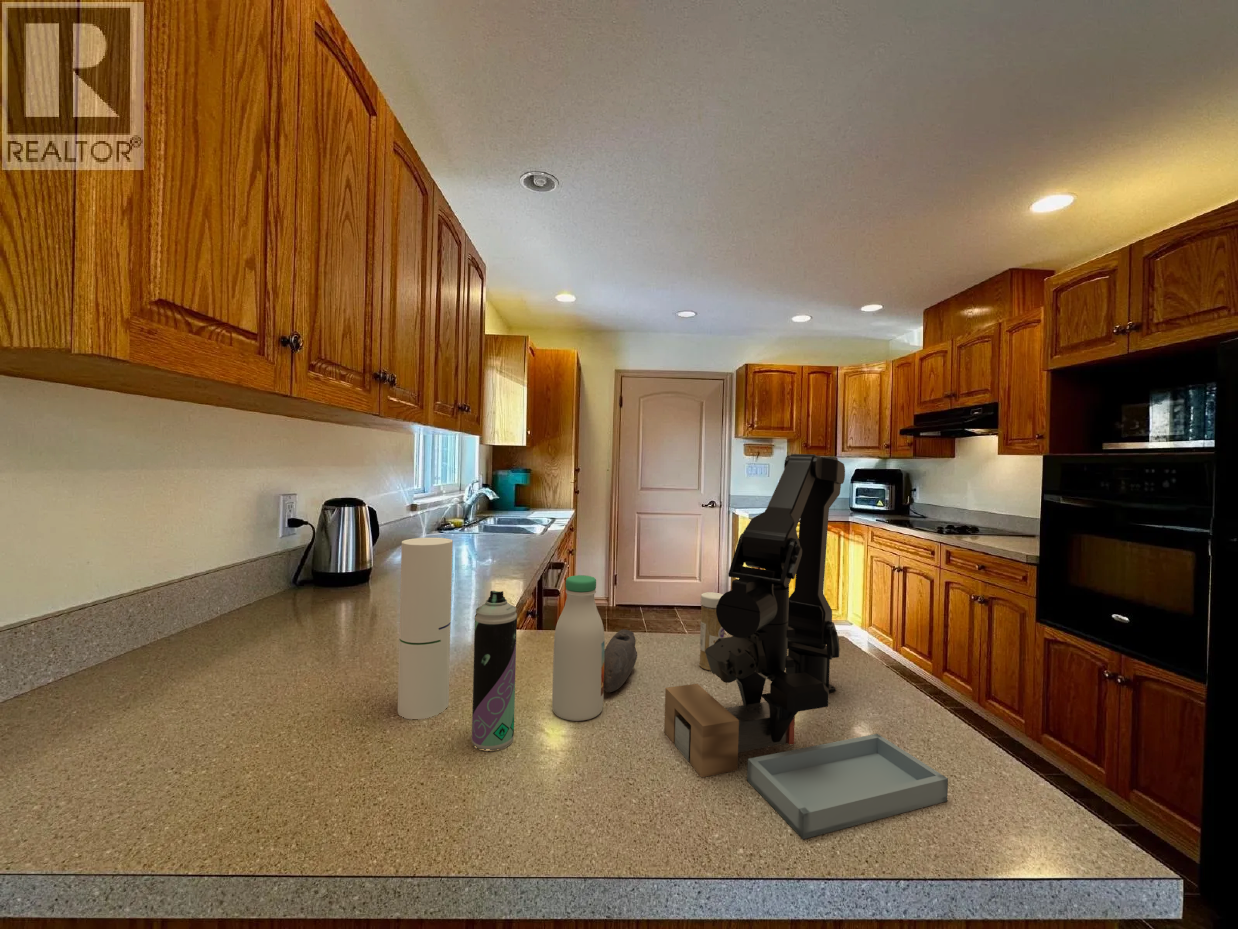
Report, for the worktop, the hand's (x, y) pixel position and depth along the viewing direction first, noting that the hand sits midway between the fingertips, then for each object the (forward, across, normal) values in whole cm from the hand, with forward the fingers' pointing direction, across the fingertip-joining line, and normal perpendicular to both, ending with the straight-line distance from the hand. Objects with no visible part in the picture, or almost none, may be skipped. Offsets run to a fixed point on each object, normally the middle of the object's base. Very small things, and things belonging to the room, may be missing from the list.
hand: (763, 730), depth 71 cm
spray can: (+1, -10, -36) cm, 37 cm away
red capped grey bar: (+1, 0, -5) cm, 5 cm away
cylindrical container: (+1, -22, -44) cm, 50 cm away
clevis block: (+1, 0, -10) cm, 10 cm away
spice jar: (+1, -24, +6) cm, 25 cm away
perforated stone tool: (+1, -23, -14) cm, 27 cm away
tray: (+1, +12, +2) cm, 13 cm away
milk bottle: (+1, -15, -22) cm, 27 cm away
